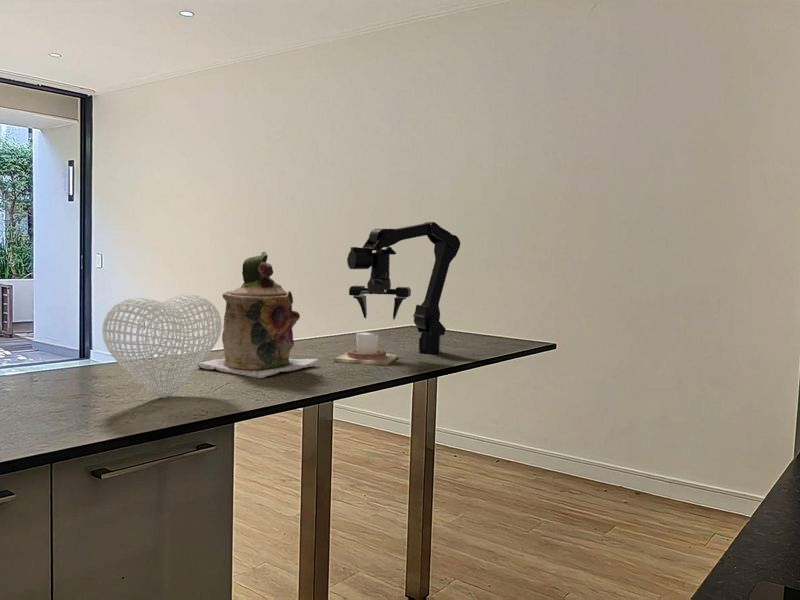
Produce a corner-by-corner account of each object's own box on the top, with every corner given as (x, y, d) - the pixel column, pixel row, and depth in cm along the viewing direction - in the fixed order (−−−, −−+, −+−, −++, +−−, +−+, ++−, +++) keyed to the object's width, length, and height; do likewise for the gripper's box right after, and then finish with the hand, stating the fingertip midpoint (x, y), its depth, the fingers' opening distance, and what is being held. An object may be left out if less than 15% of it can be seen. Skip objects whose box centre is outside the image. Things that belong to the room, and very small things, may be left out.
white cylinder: (350, 355, 215) (351, 333, 215) (367, 353, 220) (367, 331, 220) (366, 358, 211) (367, 335, 210) (382, 356, 216) (383, 333, 215)
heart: (140, 414, 140) (141, 302, 139) (86, 404, 147) (86, 297, 146) (234, 391, 165) (235, 295, 163) (184, 383, 172) (185, 291, 170)
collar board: (397, 357, 221) (397, 349, 221) (387, 365, 207) (387, 356, 207) (347, 354, 225) (347, 346, 224) (334, 361, 210) (334, 353, 210)
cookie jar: (192, 369, 191) (194, 249, 189) (251, 357, 213) (253, 250, 211) (266, 379, 180) (268, 253, 178) (320, 366, 202) (323, 253, 199)
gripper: (344, 269, 216) (344, 320, 217) (405, 271, 213) (404, 322, 214) (353, 267, 227) (353, 316, 228) (411, 269, 224) (410, 318, 225)
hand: (379, 318), depth 224 cm, fingers open, 9 cm apart
